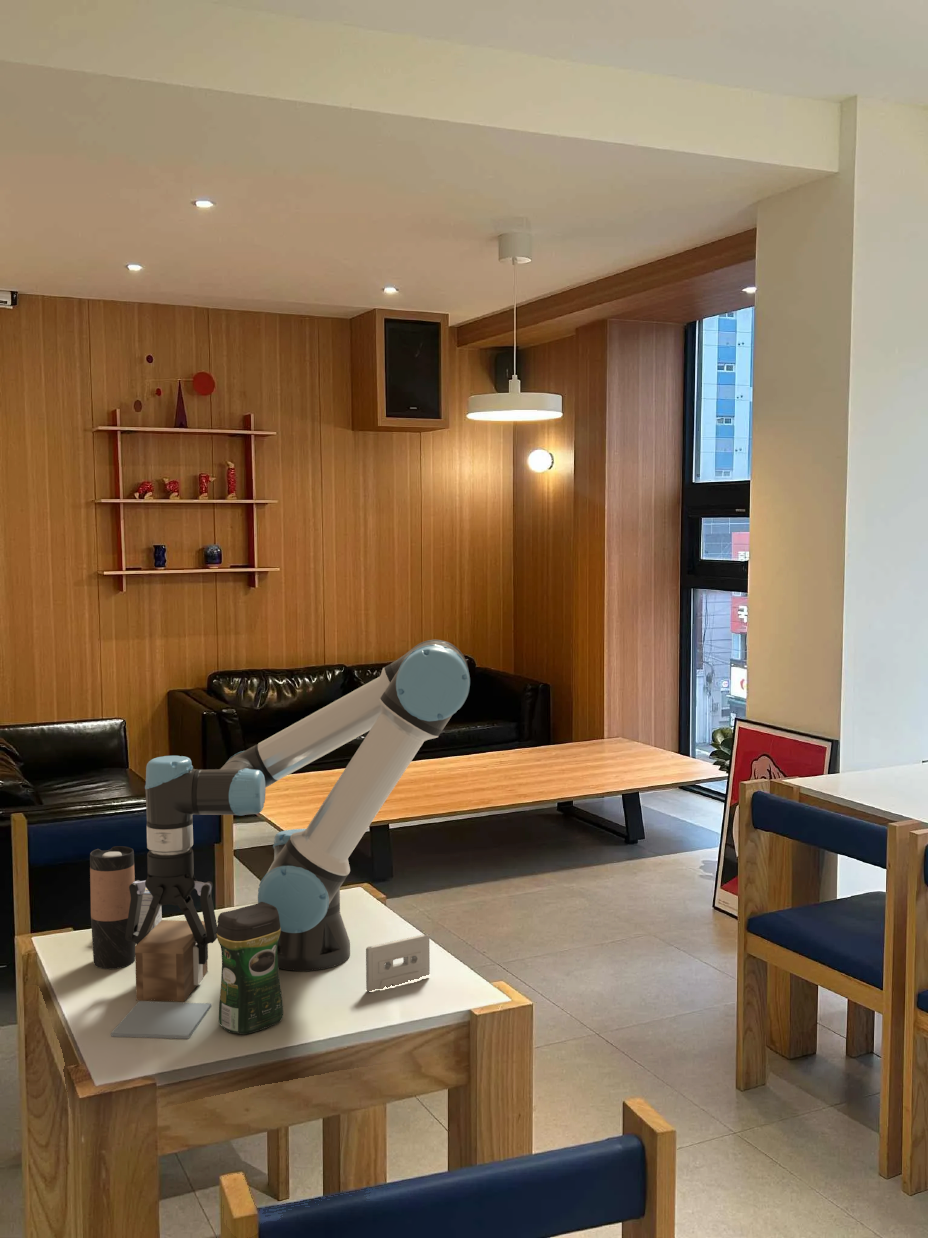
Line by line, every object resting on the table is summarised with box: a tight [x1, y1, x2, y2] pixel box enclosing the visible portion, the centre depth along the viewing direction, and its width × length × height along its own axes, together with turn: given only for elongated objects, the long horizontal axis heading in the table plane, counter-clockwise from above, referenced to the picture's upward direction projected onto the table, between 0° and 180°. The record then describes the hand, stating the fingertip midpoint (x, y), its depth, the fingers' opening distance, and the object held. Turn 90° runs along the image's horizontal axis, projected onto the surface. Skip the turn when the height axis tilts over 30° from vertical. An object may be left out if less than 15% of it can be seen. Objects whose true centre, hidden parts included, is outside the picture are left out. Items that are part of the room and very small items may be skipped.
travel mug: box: [89, 845, 136, 970], centre depth 205 cm, size 8×8×20 cm
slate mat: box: [110, 1000, 212, 1040], centre depth 181 cm, size 12×12×1 cm
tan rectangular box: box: [134, 919, 209, 1003], centre depth 195 cm, size 8×13×9 cm, turn 176°
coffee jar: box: [216, 902, 284, 1035], centre depth 179 cm, size 10×8×19 cm
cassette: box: [365, 933, 431, 992], centre depth 195 cm, size 12×2×8 cm, turn 123°
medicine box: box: [137, 888, 163, 932], centre depth 221 cm, size 8×4×9 cm, turn 88°
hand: (173, 981), depth 195 cm, fingers closed on tan rectangular box, 8 cm apart
